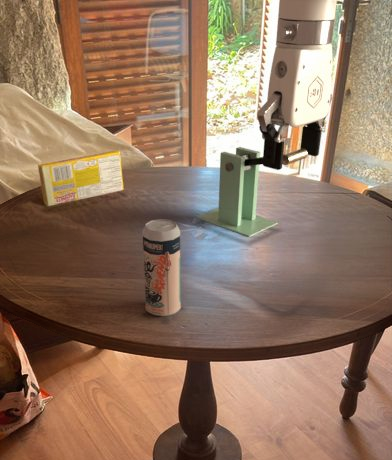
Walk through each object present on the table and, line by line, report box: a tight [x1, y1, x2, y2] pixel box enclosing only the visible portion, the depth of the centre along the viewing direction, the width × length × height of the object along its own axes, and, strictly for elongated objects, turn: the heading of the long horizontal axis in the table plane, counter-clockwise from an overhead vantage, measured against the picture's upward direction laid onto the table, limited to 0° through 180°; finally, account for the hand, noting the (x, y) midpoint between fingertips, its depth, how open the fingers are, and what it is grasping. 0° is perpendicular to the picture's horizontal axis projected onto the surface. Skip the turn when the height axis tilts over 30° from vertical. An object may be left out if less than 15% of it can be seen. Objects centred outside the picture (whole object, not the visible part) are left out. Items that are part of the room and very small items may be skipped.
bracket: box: [196, 146, 279, 238], centre depth 97 cm, size 12×8×13 cm, turn 47°
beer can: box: [141, 218, 182, 317], centre depth 73 cm, size 5×5×12 cm
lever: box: [239, 148, 309, 171], centre depth 91 cm, size 13×5×2 cm, turn 47°
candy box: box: [37, 149, 125, 212], centre depth 107 cm, size 16×2×8 cm, turn 126°
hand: (291, 160), depth 87 cm, fingers open, 9 cm apart
